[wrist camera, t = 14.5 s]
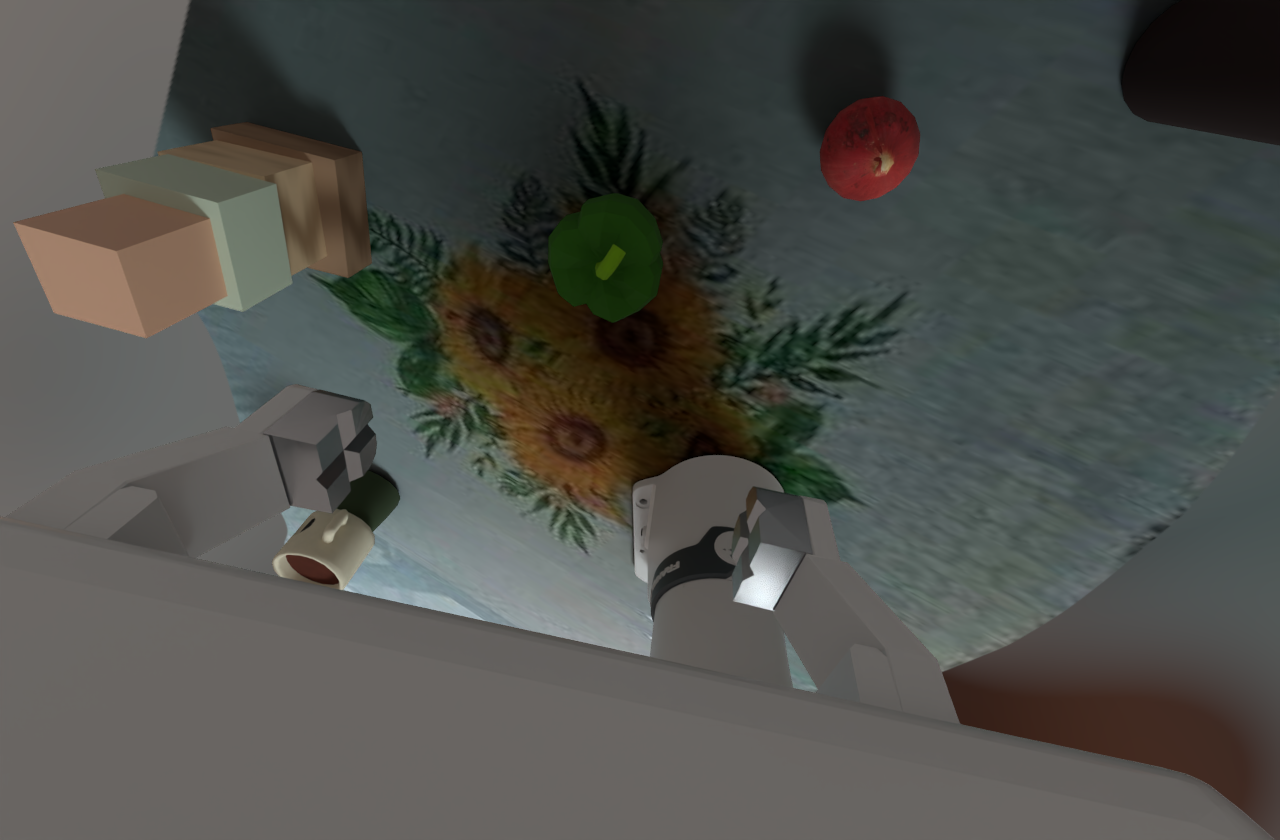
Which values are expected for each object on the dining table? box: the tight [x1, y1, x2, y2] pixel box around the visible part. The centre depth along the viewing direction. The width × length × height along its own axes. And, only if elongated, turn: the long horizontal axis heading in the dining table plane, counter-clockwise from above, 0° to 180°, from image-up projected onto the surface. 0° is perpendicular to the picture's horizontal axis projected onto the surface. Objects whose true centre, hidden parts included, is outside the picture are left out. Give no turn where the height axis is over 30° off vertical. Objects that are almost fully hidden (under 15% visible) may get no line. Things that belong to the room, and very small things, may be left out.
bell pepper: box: [548, 193, 663, 323], centre depth 38 cm, size 8×8×10 cm
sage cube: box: [95, 154, 292, 312], centre depth 34 cm, size 7×7×5 cm
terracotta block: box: [14, 194, 228, 338], centre depth 30 cm, size 5×5×6 cm
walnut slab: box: [211, 122, 372, 278], centre depth 42 cm, size 9×9×4 cm
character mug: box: [272, 470, 400, 590], centre depth 58 cm, size 11×7×13 cm, turn 150°
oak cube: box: [158, 140, 327, 276], centre depth 38 cm, size 7×7×5 cm
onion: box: [820, 96, 920, 201], centre depth 33 cm, size 6×6×8 cm
